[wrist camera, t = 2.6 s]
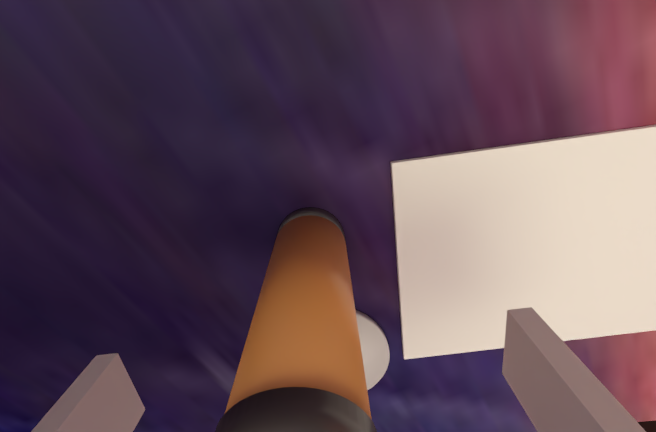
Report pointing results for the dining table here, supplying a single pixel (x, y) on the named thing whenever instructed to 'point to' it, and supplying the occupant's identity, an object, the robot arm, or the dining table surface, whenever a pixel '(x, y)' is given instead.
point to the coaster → (372, 349)
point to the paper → (526, 240)
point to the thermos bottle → (302, 339)
